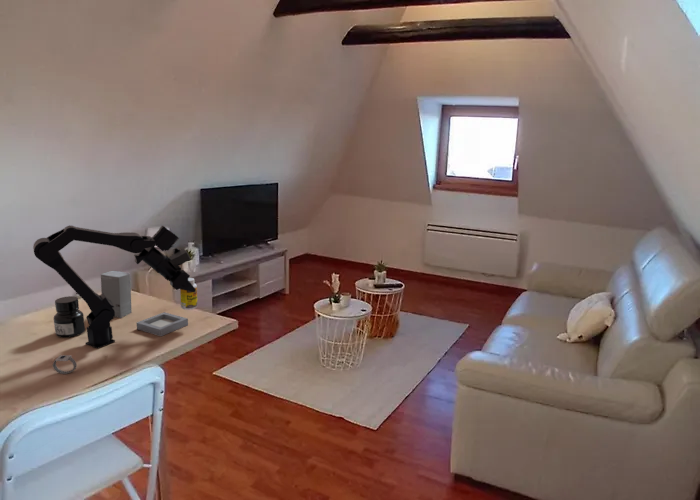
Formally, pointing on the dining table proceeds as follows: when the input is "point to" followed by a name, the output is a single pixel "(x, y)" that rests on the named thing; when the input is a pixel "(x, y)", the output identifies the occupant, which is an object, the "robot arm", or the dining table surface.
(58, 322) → the ink bottle
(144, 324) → the tray
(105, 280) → the skincare box
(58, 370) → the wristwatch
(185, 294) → the supplement bottle
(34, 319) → the dining table surface
